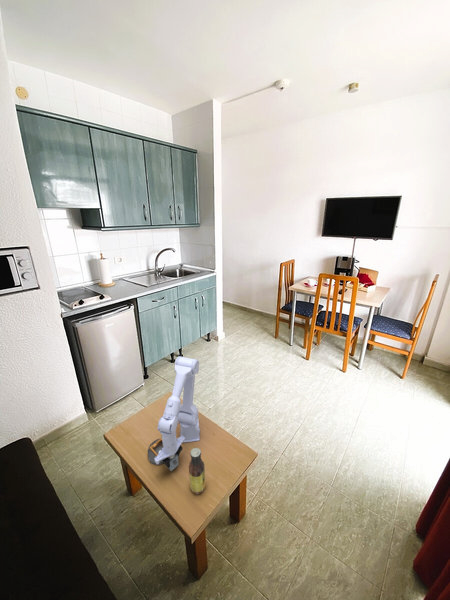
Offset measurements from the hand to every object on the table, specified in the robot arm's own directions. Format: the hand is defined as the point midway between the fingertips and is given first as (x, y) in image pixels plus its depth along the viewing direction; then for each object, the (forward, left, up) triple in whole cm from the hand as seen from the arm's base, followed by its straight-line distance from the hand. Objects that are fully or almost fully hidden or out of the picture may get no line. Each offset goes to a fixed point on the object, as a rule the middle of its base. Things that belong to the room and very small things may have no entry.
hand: (172, 462), depth 107 cm
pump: (0, 0, -2) cm, 2 cm away
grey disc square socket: (+6, -7, -3) cm, 10 cm away
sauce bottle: (-11, +10, -3) cm, 15 cm away
